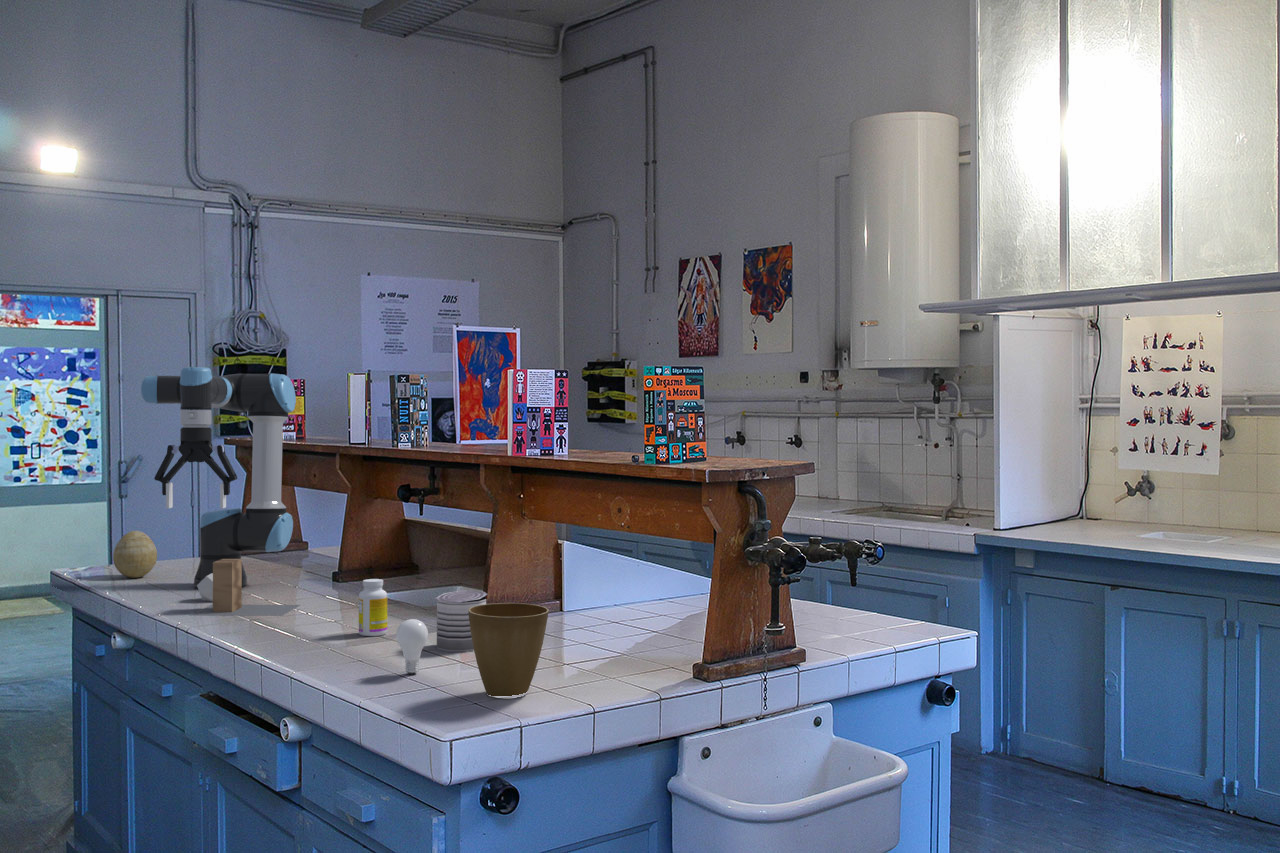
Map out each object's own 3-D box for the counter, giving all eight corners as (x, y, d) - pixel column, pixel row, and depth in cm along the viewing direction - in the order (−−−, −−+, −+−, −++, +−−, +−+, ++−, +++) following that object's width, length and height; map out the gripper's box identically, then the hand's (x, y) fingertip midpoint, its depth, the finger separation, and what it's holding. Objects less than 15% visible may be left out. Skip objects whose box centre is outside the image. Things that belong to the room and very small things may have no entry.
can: (495, 648, 241) (495, 595, 241) (447, 654, 235) (447, 599, 235) (474, 639, 251) (474, 588, 251) (427, 645, 245) (428, 592, 245)
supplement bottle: (392, 632, 259) (393, 579, 259) (377, 637, 252) (377, 583, 252) (368, 630, 261) (368, 577, 261) (352, 635, 255) (353, 581, 254)
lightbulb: (398, 670, 220) (398, 616, 220) (429, 670, 220) (429, 616, 220) (393, 677, 213) (393, 622, 213) (426, 677, 214) (426, 622, 214)
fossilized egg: (145, 580, 338) (145, 533, 337) (105, 580, 338) (105, 532, 338) (164, 575, 350) (164, 528, 350) (125, 574, 350) (125, 528, 350)
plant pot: (481, 708, 191) (481, 618, 191) (458, 689, 205) (458, 605, 205) (559, 699, 198) (560, 612, 198) (532, 681, 211) (533, 600, 211)
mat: (212, 606, 293) (212, 604, 293) (301, 606, 293) (301, 604, 293) (188, 617, 277) (188, 615, 277) (282, 617, 277) (282, 615, 277)
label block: (221, 607, 288) (222, 558, 288) (241, 607, 288) (241, 558, 288) (211, 612, 281) (212, 562, 281) (232, 612, 281) (232, 562, 281)
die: (238, 603, 302) (232, 573, 306) (225, 592, 294) (219, 562, 299) (209, 614, 301) (204, 584, 305) (196, 603, 293) (190, 573, 298)
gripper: (141, 426, 276) (141, 509, 277) (241, 426, 278) (241, 509, 279) (151, 426, 284) (152, 506, 284) (249, 426, 286) (249, 506, 286)
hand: (196, 508), depth 281 cm, fingers open, 13 cm apart
